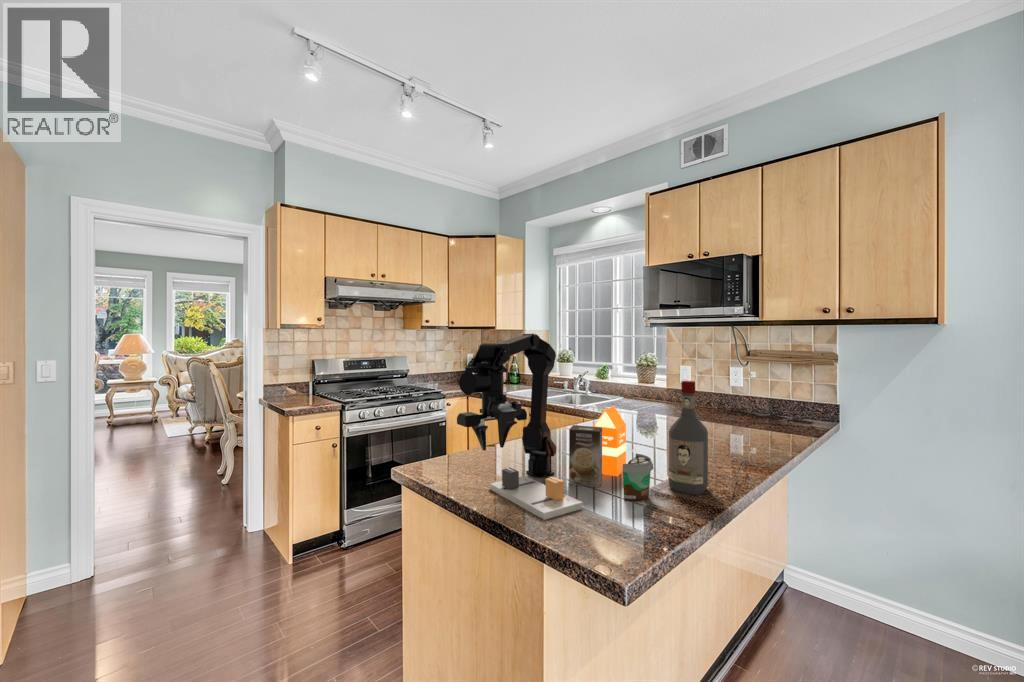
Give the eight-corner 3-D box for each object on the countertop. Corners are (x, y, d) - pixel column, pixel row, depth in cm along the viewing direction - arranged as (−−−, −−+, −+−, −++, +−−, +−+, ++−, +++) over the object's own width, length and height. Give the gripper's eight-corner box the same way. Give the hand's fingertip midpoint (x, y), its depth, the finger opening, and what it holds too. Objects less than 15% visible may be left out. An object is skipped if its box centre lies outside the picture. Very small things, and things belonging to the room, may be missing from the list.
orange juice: (626, 469, 143) (626, 406, 143) (617, 476, 136) (616, 411, 136) (603, 465, 148) (603, 404, 147) (592, 472, 140) (592, 408, 140)
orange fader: (554, 493, 117) (554, 476, 116) (564, 498, 113) (563, 480, 113) (545, 495, 115) (545, 478, 115) (555, 500, 112) (555, 482, 112)
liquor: (676, 481, 131) (676, 379, 131) (709, 487, 126) (709, 380, 126) (666, 490, 124) (666, 382, 123) (701, 497, 119) (701, 384, 118)
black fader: (510, 483, 125) (510, 467, 125) (518, 487, 121) (518, 470, 121) (502, 485, 123) (502, 468, 123) (510, 489, 120) (510, 472, 120)
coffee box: (567, 484, 129) (567, 429, 129) (572, 477, 135) (572, 424, 135) (600, 487, 126) (599, 431, 126) (603, 480, 132) (602, 426, 132)
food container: (646, 507, 112) (646, 467, 112) (622, 502, 115) (622, 463, 115) (658, 492, 122) (658, 455, 122) (636, 488, 126) (636, 452, 125)
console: (524, 481, 132) (524, 475, 132) (582, 508, 111) (582, 501, 111) (489, 489, 126) (489, 483, 126) (544, 519, 105) (544, 512, 105)
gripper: (476, 396, 107) (476, 461, 107) (539, 390, 117) (539, 450, 117) (455, 391, 116) (456, 451, 116) (515, 386, 126) (515, 441, 127)
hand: (493, 448), depth 119 cm, fingers open, 5 cm apart
